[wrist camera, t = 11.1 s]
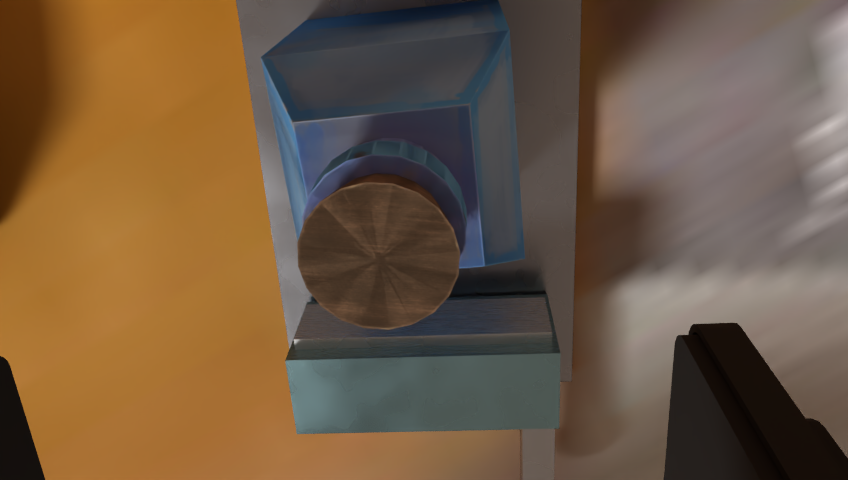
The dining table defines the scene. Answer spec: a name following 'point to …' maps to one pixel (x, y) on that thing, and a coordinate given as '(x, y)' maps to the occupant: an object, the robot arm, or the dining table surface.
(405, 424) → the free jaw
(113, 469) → the dining table surface
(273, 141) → the vise bed
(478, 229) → the perfume bottle
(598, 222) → the dining table surface
